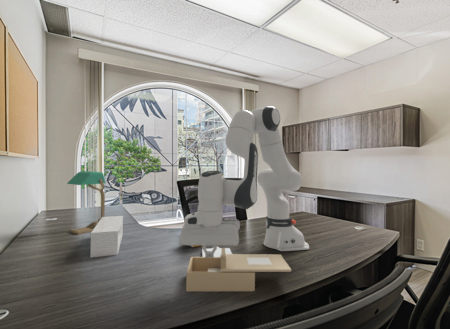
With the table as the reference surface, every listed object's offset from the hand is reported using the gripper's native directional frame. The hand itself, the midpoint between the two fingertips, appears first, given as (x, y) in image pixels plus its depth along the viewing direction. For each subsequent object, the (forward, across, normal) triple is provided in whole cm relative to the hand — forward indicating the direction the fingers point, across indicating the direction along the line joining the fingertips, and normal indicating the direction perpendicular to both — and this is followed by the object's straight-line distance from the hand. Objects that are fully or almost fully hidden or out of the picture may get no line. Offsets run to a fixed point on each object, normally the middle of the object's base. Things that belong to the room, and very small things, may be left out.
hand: (209, 257), depth 83 cm
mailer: (+8, -4, 0) cm, 9 cm away
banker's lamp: (+9, +73, -63) cm, 97 cm away
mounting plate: (+9, -3, -22) cm, 24 cm away
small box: (+9, +7, -38) cm, 40 cm away
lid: (+2, -15, 0) cm, 16 cm away
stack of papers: (+9, +51, -38) cm, 64 cm away
